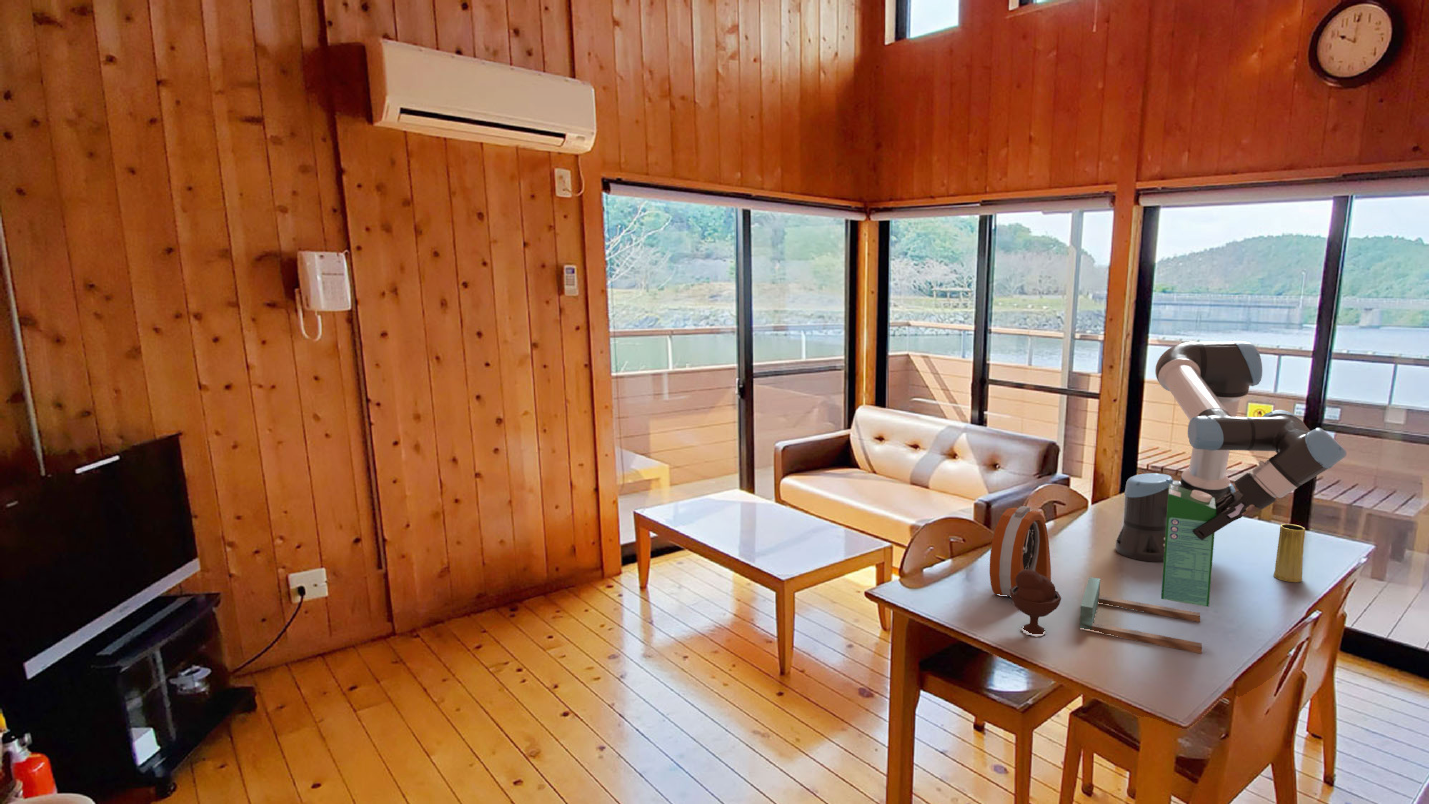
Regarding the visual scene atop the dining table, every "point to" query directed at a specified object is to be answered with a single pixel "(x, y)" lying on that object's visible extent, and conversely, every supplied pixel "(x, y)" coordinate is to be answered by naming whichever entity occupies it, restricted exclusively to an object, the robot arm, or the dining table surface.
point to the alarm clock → (1018, 548)
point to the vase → (1290, 553)
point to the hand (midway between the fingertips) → (1168, 546)
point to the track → (1093, 598)
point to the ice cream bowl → (1034, 598)
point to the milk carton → (1187, 547)
